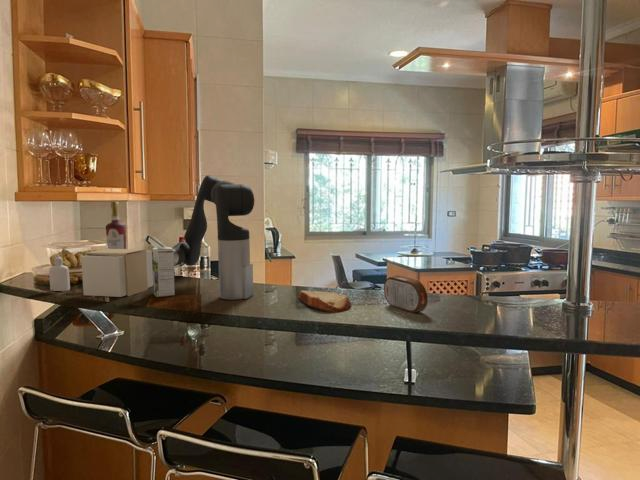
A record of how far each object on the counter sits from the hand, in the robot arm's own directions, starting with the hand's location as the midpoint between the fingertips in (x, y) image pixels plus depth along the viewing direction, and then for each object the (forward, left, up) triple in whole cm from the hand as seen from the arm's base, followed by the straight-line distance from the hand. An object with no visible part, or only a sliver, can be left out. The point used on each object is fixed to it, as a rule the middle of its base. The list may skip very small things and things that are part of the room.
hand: (135, 265), depth 161 cm
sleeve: (0, +9, -7) cm, 12 cm away
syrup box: (-17, +10, -7) cm, 21 cm away
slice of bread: (-67, +13, -8) cm, 69 cm away
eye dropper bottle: (+20, +11, -7) cm, 24 cm away
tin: (-90, +15, -7) cm, 91 cm away
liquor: (+22, -21, -7) cm, 31 cm away
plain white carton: (0, +8, -7) cm, 11 cm away
